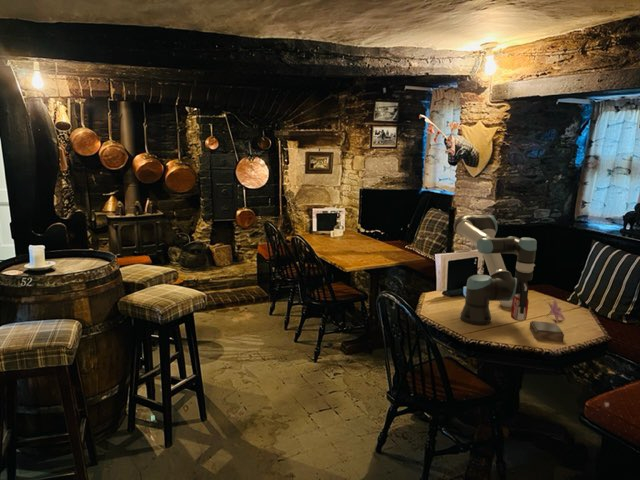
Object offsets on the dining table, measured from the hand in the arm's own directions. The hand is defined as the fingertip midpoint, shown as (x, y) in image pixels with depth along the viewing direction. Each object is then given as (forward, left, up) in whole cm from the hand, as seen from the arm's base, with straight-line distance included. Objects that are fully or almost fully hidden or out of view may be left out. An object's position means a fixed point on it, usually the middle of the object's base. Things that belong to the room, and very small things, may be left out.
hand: (518, 316), depth 210 cm
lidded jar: (+2, +39, -9) cm, 40 cm away
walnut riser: (+13, +1, -8) cm, 16 cm away
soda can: (0, 0, -2) cm, 2 cm away
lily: (+23, +24, -9) cm, 34 cm away
